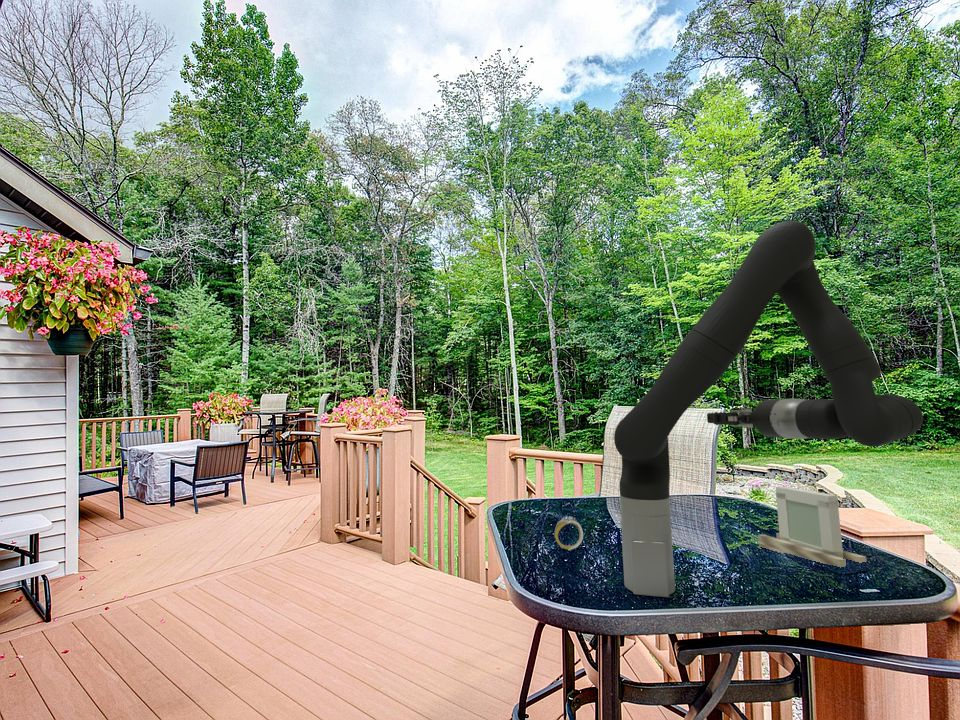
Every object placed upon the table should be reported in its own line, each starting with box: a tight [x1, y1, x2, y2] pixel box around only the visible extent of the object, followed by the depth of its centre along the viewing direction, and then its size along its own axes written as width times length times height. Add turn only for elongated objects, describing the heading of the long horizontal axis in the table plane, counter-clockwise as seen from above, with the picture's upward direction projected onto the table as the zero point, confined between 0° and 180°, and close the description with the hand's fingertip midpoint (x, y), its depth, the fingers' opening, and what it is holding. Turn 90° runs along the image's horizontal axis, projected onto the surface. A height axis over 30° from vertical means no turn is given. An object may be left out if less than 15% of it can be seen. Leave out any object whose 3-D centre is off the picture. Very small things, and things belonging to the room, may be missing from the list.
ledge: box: [758, 532, 867, 568], centre depth 104 cm, size 20×7×3 cm, turn 14°
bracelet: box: [554, 515, 584, 551], centre depth 114 cm, size 7×3×8 cm, turn 89°
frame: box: [775, 485, 843, 558], centre depth 104 cm, size 13×3×14 cm, turn 14°
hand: (724, 417), depth 104 cm, fingers open, 8 cm apart
